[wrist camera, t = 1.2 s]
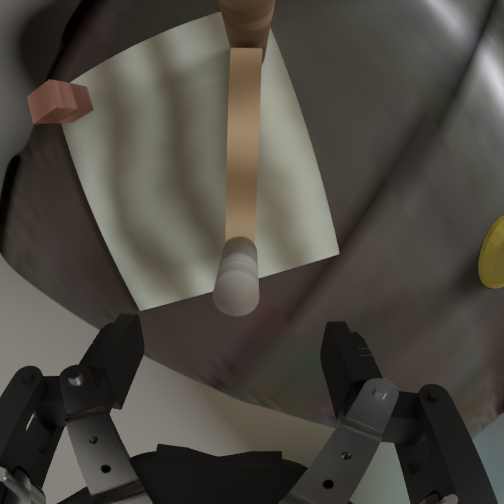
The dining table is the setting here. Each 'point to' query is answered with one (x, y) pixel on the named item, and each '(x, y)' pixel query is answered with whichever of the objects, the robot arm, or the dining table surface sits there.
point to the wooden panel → (241, 187)
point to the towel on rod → (189, 155)
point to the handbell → (493, 256)
